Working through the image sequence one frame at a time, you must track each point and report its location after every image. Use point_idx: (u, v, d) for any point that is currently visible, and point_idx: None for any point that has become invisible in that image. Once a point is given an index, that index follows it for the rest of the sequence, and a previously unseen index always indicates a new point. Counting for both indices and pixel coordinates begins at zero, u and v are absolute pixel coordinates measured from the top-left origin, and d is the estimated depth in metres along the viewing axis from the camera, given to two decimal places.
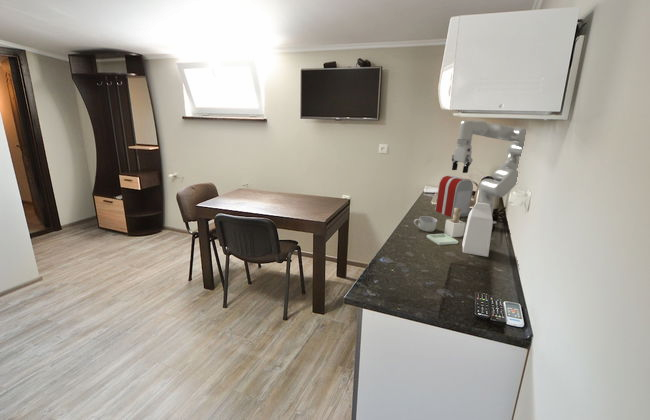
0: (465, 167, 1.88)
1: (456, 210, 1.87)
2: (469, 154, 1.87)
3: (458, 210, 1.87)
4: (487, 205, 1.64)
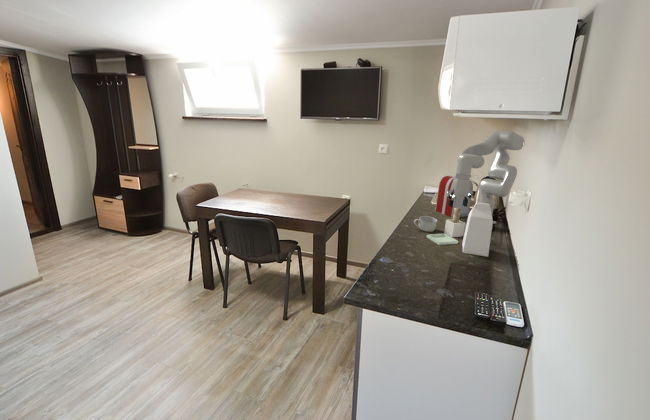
0: None
1: (456, 210, 1.87)
2: None
3: (458, 210, 1.87)
4: (487, 205, 1.64)
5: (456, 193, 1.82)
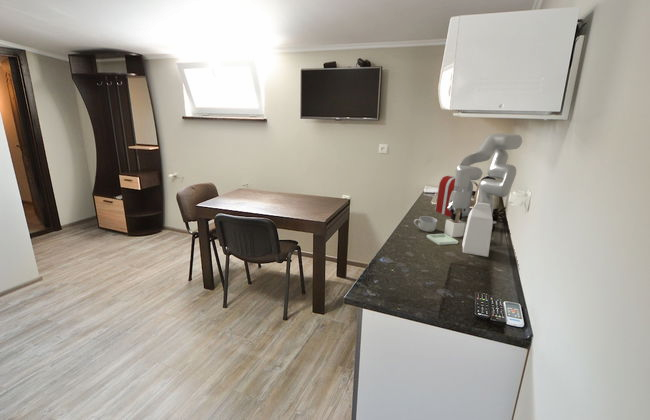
0: (461, 214, 1.89)
1: (456, 210, 1.87)
2: None
3: (458, 210, 1.87)
4: (487, 205, 1.64)
5: (454, 205, 1.85)
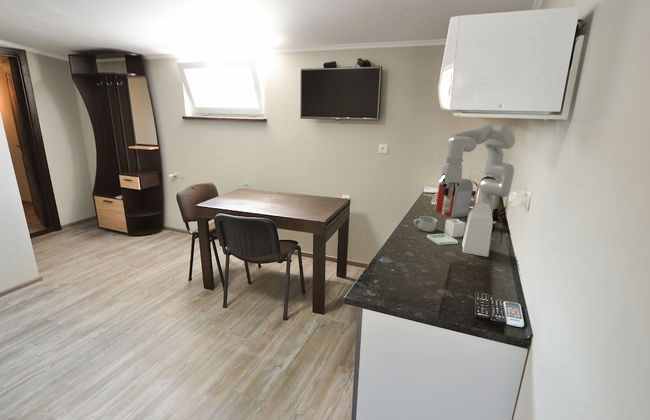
0: (455, 189, 1.75)
1: (449, 184, 1.73)
2: None
3: (451, 184, 1.72)
4: (487, 205, 1.64)
5: (447, 179, 1.70)
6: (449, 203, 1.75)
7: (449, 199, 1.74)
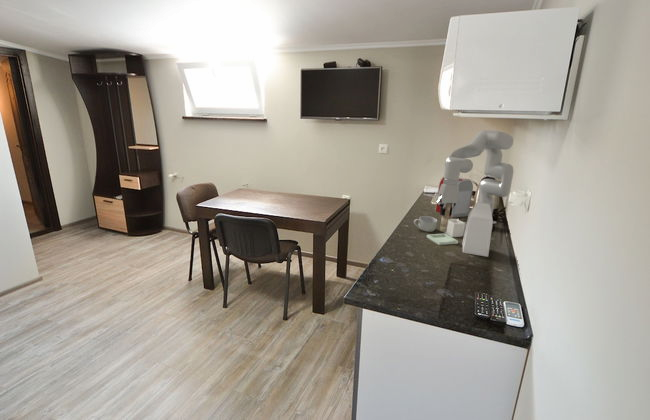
0: (451, 209, 1.78)
1: (446, 205, 1.76)
2: None
3: (448, 204, 1.75)
4: (487, 205, 1.64)
5: (444, 199, 1.73)
6: (446, 223, 1.78)
7: (446, 219, 1.77)
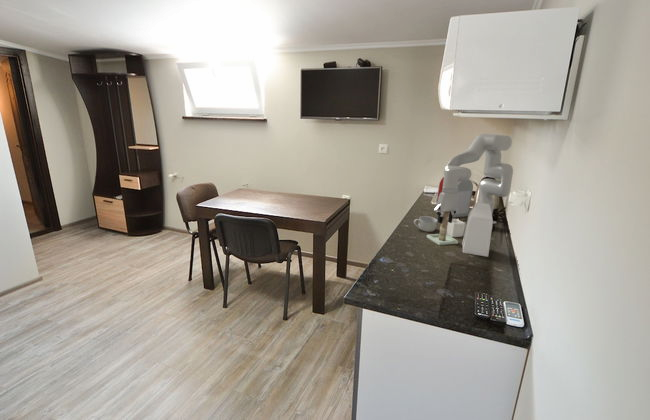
0: None
1: (444, 214, 1.77)
2: None
3: (446, 214, 1.77)
4: (487, 205, 1.64)
5: (443, 208, 1.74)
6: (445, 232, 1.80)
7: (444, 228, 1.79)
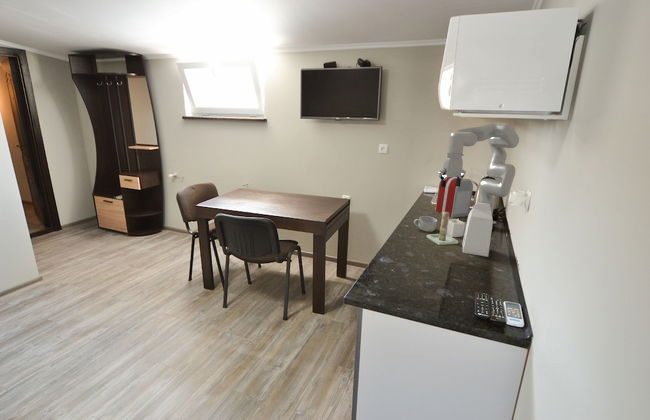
0: None
1: (444, 214, 1.77)
2: None
3: (446, 214, 1.77)
4: (487, 205, 1.64)
5: (448, 173, 1.75)
6: (445, 232, 1.80)
7: (445, 228, 1.79)
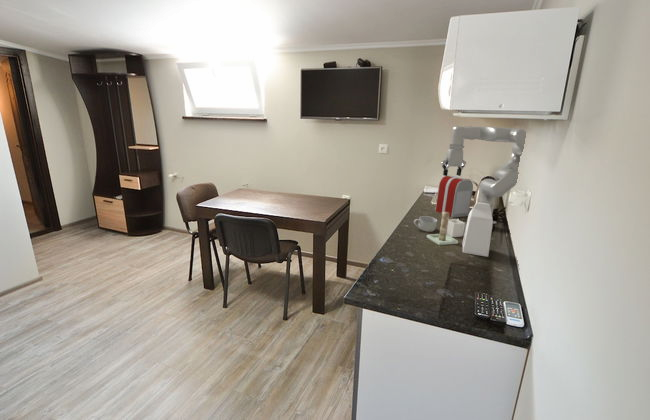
0: (461, 170, 2.00)
1: (444, 214, 1.77)
2: None
3: (446, 214, 1.77)
4: (487, 205, 1.64)
5: (450, 162, 1.95)
6: (445, 232, 1.80)
7: (445, 228, 1.79)
